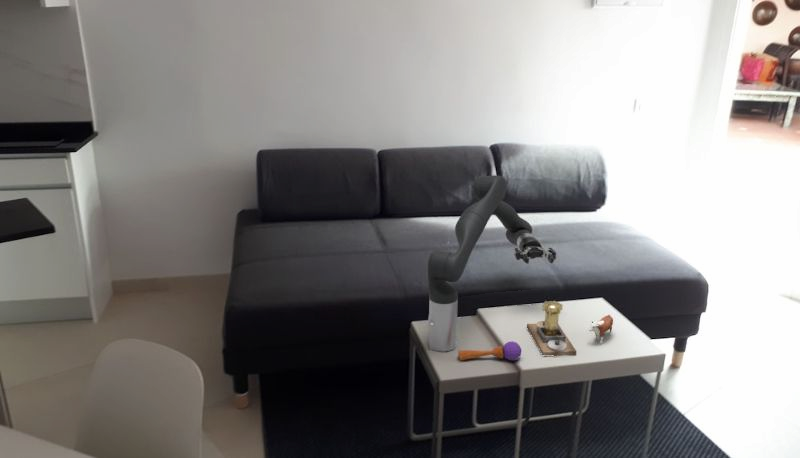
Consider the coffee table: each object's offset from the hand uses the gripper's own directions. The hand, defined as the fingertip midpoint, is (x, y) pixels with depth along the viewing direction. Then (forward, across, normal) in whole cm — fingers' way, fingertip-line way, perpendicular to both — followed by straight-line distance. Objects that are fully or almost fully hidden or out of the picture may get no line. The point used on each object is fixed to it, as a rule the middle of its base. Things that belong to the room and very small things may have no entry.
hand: (539, 260), depth 220 cm
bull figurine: (+14, +19, +24) cm, 34 cm away
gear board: (+14, +2, +24) cm, 28 cm away
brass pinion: (+14, +2, +22) cm, 26 cm away
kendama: (+25, -21, +24) cm, 41 cm away
